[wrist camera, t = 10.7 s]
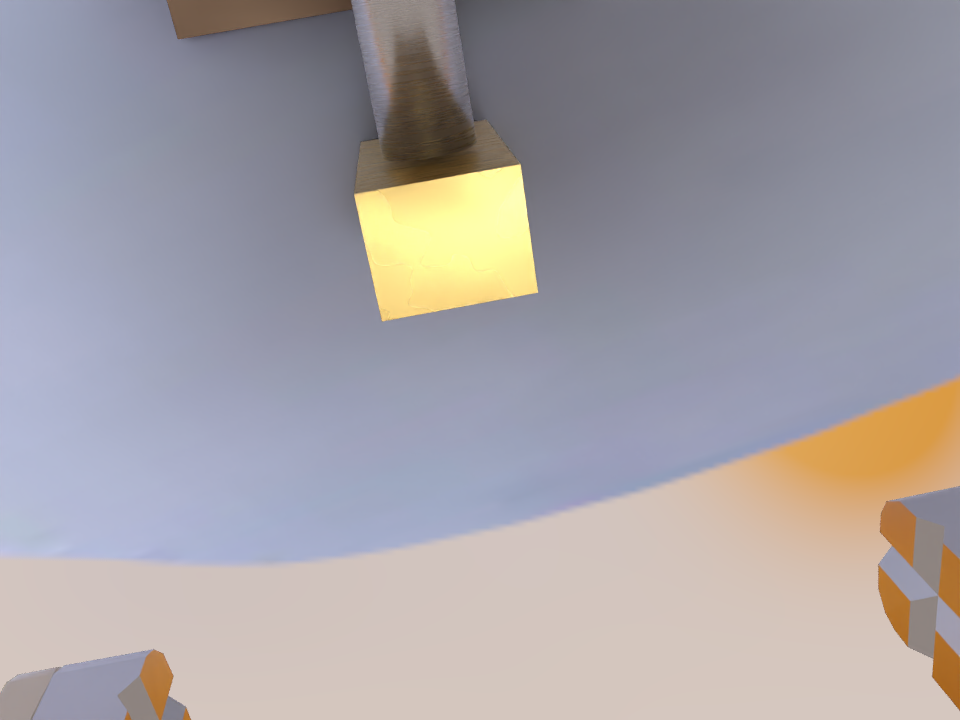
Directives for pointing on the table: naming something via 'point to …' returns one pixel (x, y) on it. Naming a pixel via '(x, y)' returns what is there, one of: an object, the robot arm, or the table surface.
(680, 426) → the table surface
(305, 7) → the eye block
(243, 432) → the table surface
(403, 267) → the gold cube on rod
